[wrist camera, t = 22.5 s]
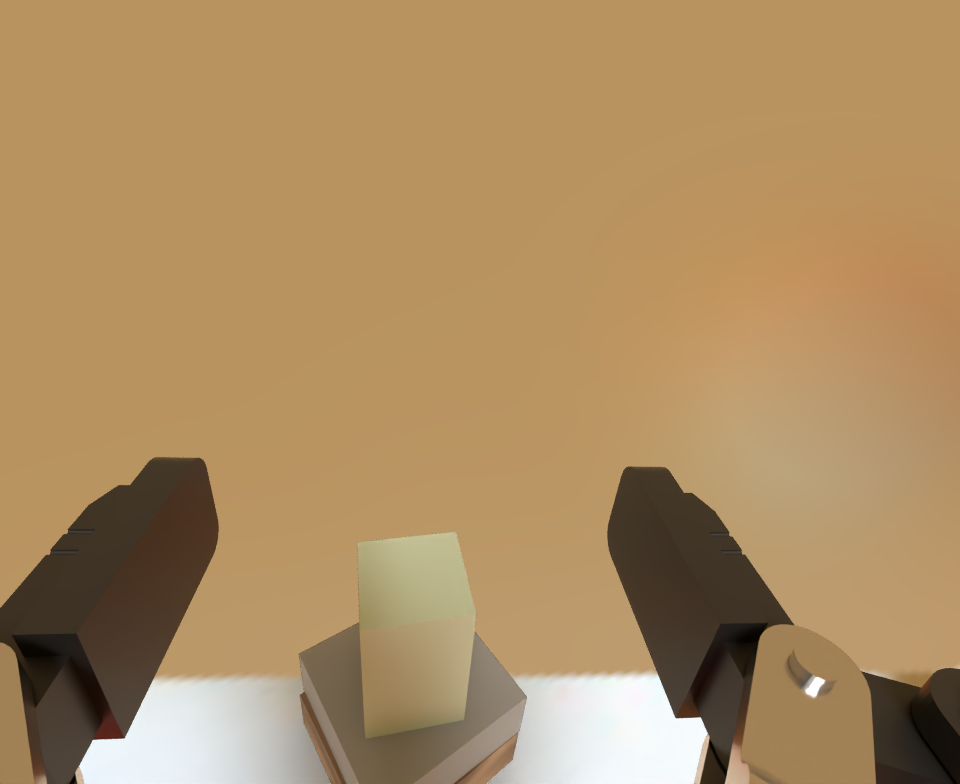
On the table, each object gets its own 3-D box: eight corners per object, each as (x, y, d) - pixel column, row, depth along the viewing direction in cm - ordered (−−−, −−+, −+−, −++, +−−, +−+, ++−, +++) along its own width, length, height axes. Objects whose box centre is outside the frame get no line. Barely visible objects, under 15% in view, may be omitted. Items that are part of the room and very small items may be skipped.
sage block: (365, 739, 30) (359, 631, 26) (362, 646, 35) (357, 542, 31) (464, 720, 32) (476, 614, 27) (447, 633, 37) (455, 531, 32)
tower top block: (374, 847, 29) (373, 814, 27) (303, 688, 37) (298, 654, 35) (519, 730, 35) (526, 697, 33) (433, 615, 43) (435, 582, 41)
